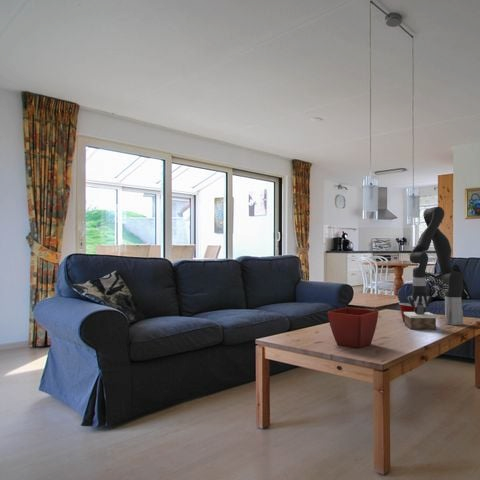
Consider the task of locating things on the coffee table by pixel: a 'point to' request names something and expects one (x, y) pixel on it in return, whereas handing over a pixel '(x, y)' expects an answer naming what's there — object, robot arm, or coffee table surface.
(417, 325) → the walnut box
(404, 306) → the plastic cup
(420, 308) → the cream lid
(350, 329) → the plant pot
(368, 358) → the coffee table surface
